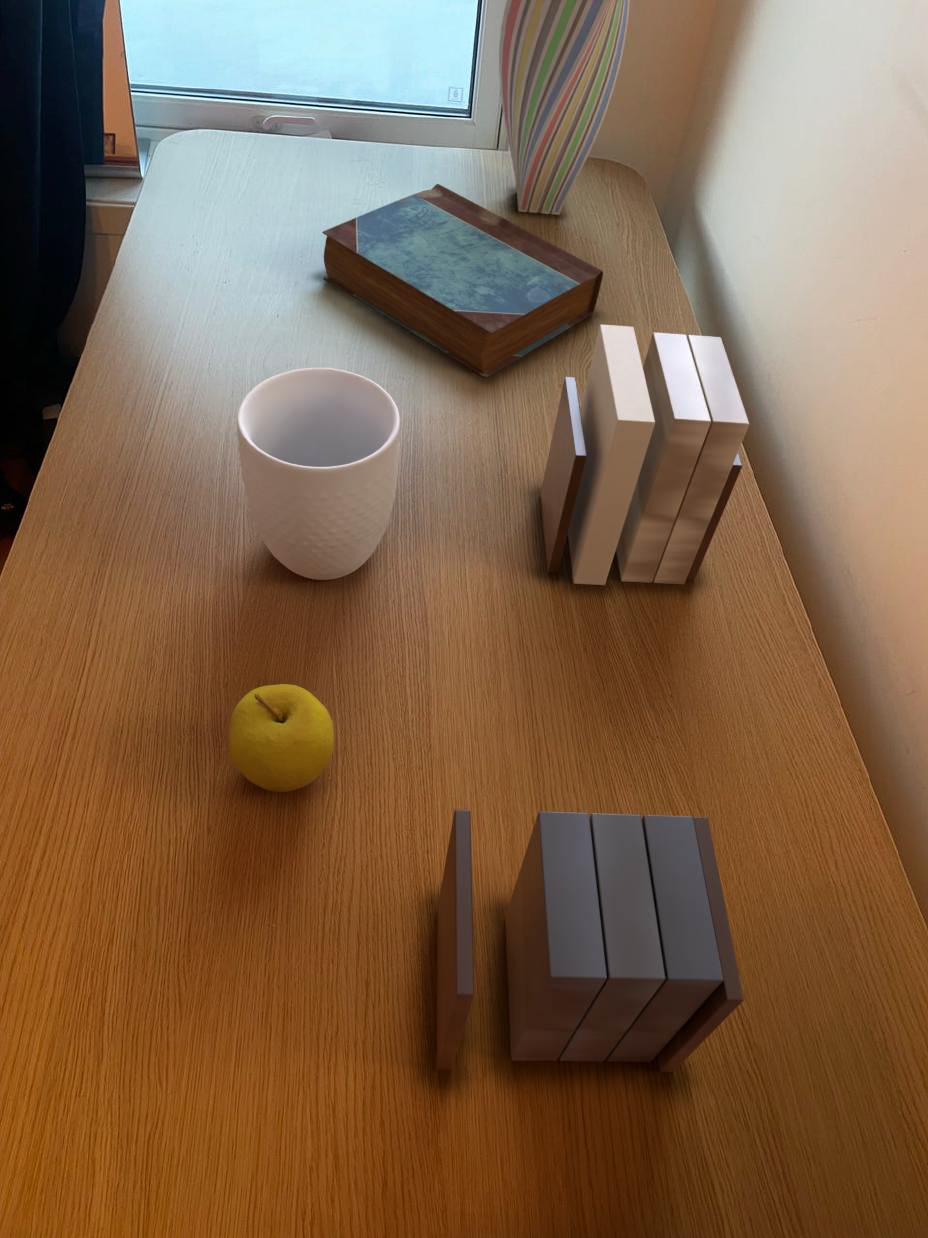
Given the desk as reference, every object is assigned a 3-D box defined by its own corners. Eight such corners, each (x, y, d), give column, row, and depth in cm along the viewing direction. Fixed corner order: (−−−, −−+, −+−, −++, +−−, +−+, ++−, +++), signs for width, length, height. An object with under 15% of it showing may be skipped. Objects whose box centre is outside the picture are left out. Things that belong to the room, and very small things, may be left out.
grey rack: (650, 911, 56) (714, 807, 47) (673, 1072, 51) (752, 992, 41) (437, 906, 55) (456, 798, 45) (436, 1070, 50) (458, 987, 40)
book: (594, 313, 98) (604, 269, 94) (484, 379, 89) (490, 333, 85) (436, 225, 107) (439, 181, 103) (320, 277, 98) (319, 232, 94)
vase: (482, 226, 108) (518, -93, 85) (480, 171, 116) (512, -131, 93) (598, 236, 109) (665, -76, 86) (588, 181, 117) (645, -116, 94)
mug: (328, 457, 80) (325, 322, 70) (442, 506, 77) (456, 373, 67) (221, 566, 71) (200, 429, 61) (346, 625, 68) (345, 492, 58)
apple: (224, 744, 61) (210, 671, 55) (320, 719, 63) (316, 646, 57) (246, 829, 57) (233, 761, 51) (347, 800, 59) (346, 731, 53)
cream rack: (675, 498, 81) (734, 337, 68) (695, 585, 74) (763, 424, 62) (539, 490, 80) (574, 325, 67) (548, 577, 73) (587, 412, 61)
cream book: (590, 489, 80) (633, 326, 68) (605, 585, 73) (655, 422, 61) (562, 488, 80) (599, 323, 68) (573, 583, 73) (617, 419, 61)
